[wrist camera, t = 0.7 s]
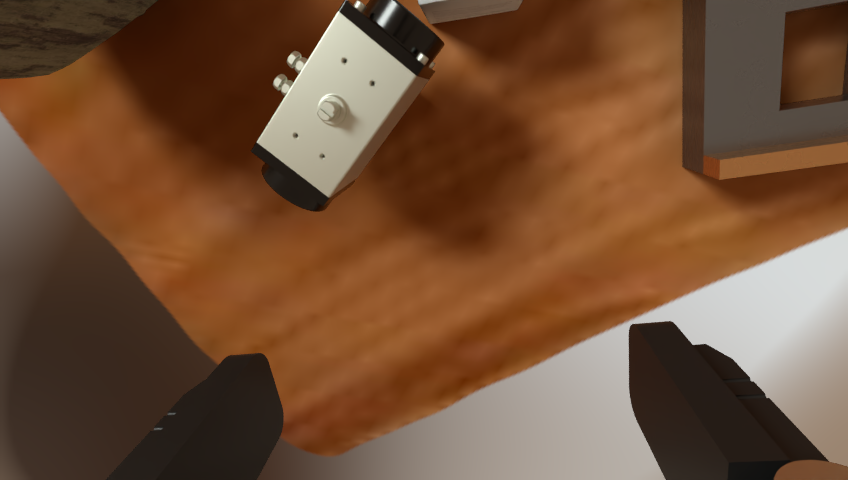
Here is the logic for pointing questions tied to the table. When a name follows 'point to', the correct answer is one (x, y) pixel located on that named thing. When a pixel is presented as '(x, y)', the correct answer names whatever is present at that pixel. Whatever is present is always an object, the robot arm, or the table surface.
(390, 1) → the pneumatic valve
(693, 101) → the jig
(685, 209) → the table surface
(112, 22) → the olive green lantern
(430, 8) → the skincare box
